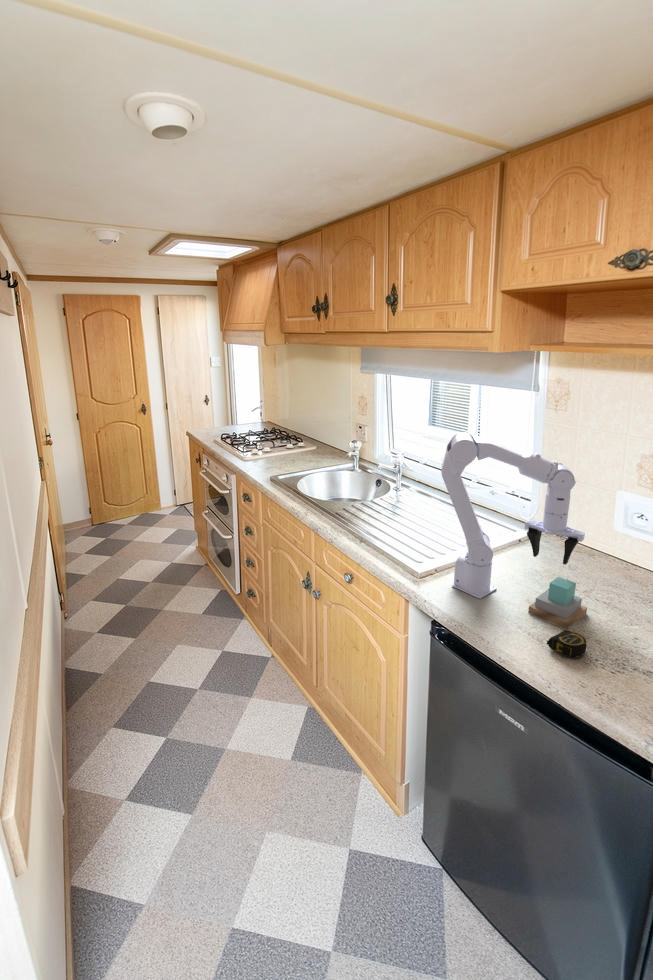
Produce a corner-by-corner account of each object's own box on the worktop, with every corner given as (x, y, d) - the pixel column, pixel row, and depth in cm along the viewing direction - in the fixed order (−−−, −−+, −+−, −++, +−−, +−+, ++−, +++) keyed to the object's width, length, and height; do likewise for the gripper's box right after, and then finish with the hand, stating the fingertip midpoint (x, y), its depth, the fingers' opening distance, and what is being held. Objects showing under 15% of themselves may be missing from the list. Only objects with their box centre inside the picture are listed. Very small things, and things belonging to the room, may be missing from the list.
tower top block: (534, 606, 132) (535, 598, 131) (550, 595, 137) (551, 587, 136) (565, 619, 126) (567, 610, 126) (580, 607, 131) (581, 598, 131)
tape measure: (564, 639, 122) (566, 625, 121) (591, 654, 116) (594, 640, 115) (545, 649, 119) (547, 635, 117) (572, 665, 113) (574, 650, 112)
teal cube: (547, 598, 131) (549, 582, 129) (556, 592, 134) (558, 576, 132) (565, 605, 128) (567, 589, 126) (573, 598, 130) (576, 582, 129)
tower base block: (528, 614, 133) (528, 606, 132) (548, 601, 139) (549, 593, 138) (565, 631, 126) (567, 622, 125) (585, 616, 132) (587, 607, 131)
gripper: (522, 509, 136) (517, 557, 140) (581, 522, 127) (574, 572, 131) (532, 502, 141) (527, 548, 145) (589, 513, 132) (582, 562, 136)
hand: (550, 559), depth 138 cm, fingers open, 7 cm apart
